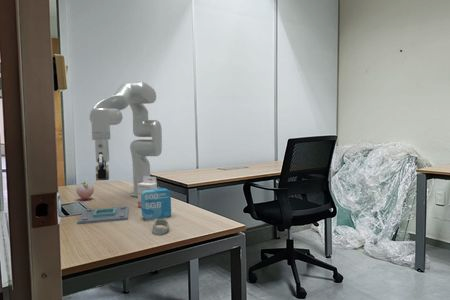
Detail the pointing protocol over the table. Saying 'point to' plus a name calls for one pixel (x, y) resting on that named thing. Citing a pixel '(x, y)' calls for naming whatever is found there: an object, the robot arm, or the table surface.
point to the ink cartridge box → (146, 186)
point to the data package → (155, 203)
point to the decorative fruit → (85, 190)
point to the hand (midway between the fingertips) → (102, 177)
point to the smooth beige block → (106, 173)
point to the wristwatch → (159, 230)
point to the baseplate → (104, 215)
